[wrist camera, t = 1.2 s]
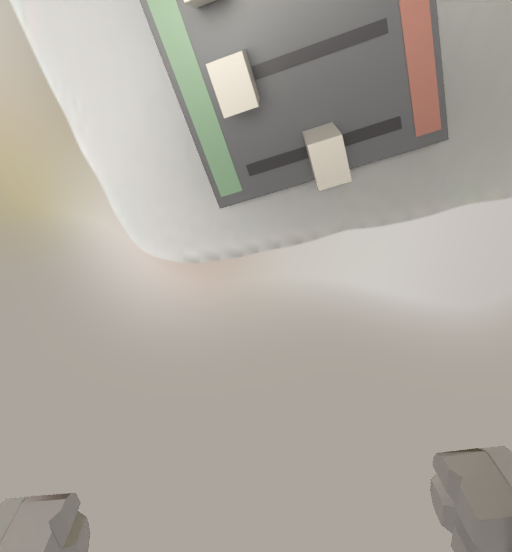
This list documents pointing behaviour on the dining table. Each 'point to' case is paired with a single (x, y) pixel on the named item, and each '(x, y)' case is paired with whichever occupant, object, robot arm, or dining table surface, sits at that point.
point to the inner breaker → (198, 2)
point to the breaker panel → (303, 83)
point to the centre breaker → (234, 83)
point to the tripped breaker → (327, 156)
